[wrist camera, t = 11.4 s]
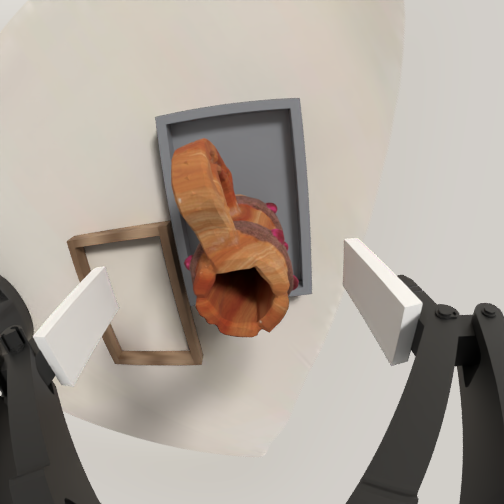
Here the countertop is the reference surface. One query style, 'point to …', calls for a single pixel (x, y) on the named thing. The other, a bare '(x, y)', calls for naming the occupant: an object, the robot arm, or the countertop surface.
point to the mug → (231, 245)
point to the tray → (248, 170)
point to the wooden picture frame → (176, 282)
